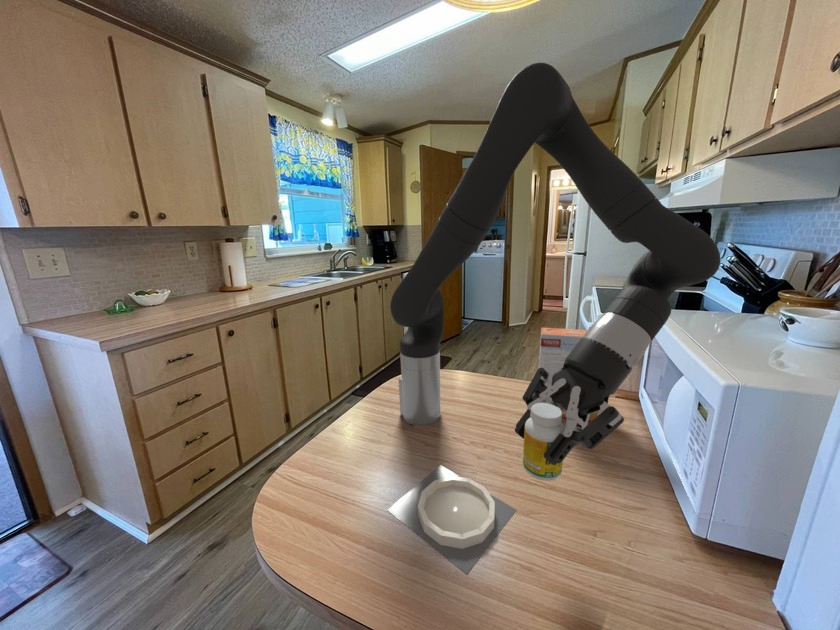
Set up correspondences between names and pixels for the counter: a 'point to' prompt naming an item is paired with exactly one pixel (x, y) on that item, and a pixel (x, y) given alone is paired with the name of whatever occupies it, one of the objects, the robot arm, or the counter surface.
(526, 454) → the supplement bottle
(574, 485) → the counter surface
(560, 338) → the cracker box
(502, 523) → the slate board
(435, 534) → the bowl
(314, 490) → the counter surface
